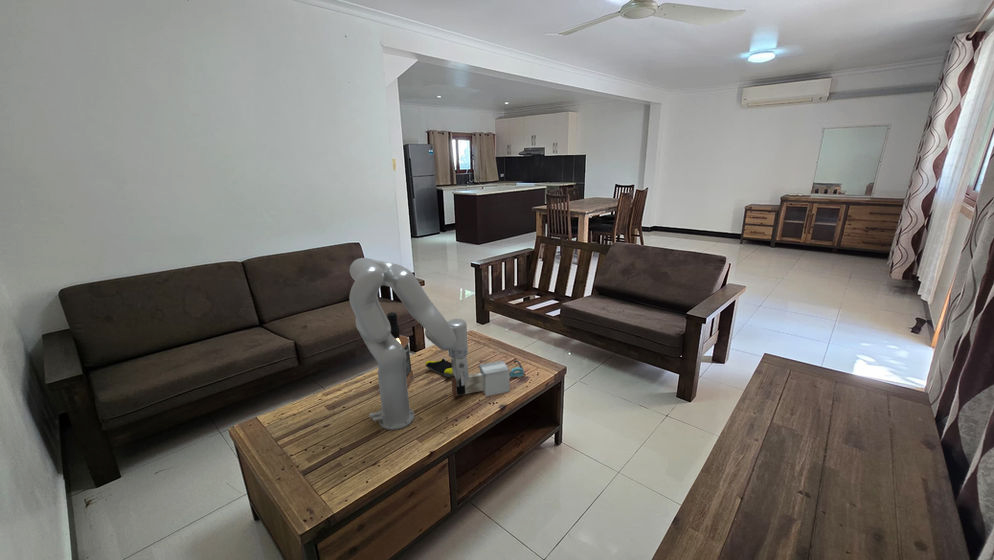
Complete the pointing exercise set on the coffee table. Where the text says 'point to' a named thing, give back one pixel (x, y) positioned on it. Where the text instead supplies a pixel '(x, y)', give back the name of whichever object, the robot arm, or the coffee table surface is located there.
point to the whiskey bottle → (403, 341)
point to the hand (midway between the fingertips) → (460, 392)
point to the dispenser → (495, 378)
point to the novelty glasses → (516, 370)
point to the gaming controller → (441, 367)
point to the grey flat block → (470, 384)
